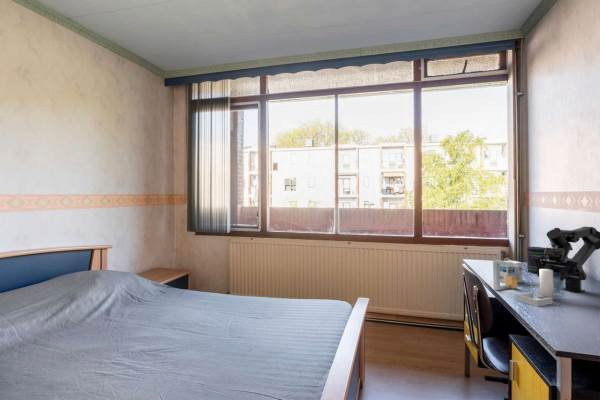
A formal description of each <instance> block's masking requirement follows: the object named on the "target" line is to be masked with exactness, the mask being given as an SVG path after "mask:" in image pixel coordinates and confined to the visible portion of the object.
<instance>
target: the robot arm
mask: <svg viewBox="0 0 600 400" xmlns="http://www.w3.org/2000/svg"><path fill="white" fill-rule="evenodd" d="M546 237H547V238H548V240H549V241H550V243H551V244H552V245H553V246H554V247H544V248H545V251H544V254H545V255H547V258H546V260H544V259H543V257H542V256H535V255H534V256H532V258H531V260H532V262H533V263H534V265H535V266H537V274H536V276H537V278H539V269H544V266H545V265H546V264H547V265H550V266H555V267H558V271H559V275H560V277H559V281H560V282H563V281H564V280H565V281H564V287H562V288H561V289H562V290H565V291H568V292H572V293H577V294H578V293H582V292H586V290H585V289H582V281H586V280H587V277H588V276H587V273H586V271H585V270H584V267H583V266H584V265H585V263H586V262H587V261H588V259H589V258H590V257H591V256H592V254H593V253H594V252H595V251H598V250H600V231H599V230H597V228H596V227H593V226H582V227H578V228H575V229H571V230H568V229H561V228H559V227H554V229H551V230H549V231H548V232H547V233H546ZM580 239H581V240H582V241H583V245H581V247H580V248H579V250H577V252H576V253H575V254H574V255H573V256H572V257H571V258H569V253H570V251H573V246H572V244H571V243H575V244H576V243H578V242H579V241H580Z"/></svg>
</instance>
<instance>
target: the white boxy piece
mask: <svg viewBox="0 0 600 400" xmlns="http://www.w3.org/2000/svg"><path fill="white" fill-rule="evenodd" d="M505 261H506V260H505ZM505 261H504V260H500V259H493V260H492V267H493V268H492V271H493V272H492V273H493V276H492V277H493V290H494V291H501V290H508V289H512V290H514V289H518V282H517V276H513V275H506V276H505V277H506V283H505V284H503V285H501V281H500V264H501V265H506V266H511V267H518V264H515V263H510V262H505Z"/></svg>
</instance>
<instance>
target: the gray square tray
mask: <svg viewBox="0 0 600 400" xmlns="http://www.w3.org/2000/svg"><path fill="white" fill-rule="evenodd" d="M534 295H535V294H534V292H524V293H518V294H517V293H516V300H517V301H519V302H522V303H525V304H529V305H531V304H532V306H534V305H535V306H534V307H541V305H542V306H547V304H548V305H552V304H553V302H554V300H552V298H544V299H540V298H538V297H536V296H534Z"/></svg>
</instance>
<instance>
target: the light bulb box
mask: <svg viewBox="0 0 600 400" xmlns="http://www.w3.org/2000/svg"><path fill="white" fill-rule="evenodd" d="M505 262H510V263H515V264H518V267H511V266H506V265H501V264H500V283H501V282H502V283H505V284H506V277H505V276H506V275H513V276H517V283H523V262H521V261H517V260H505Z"/></svg>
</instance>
